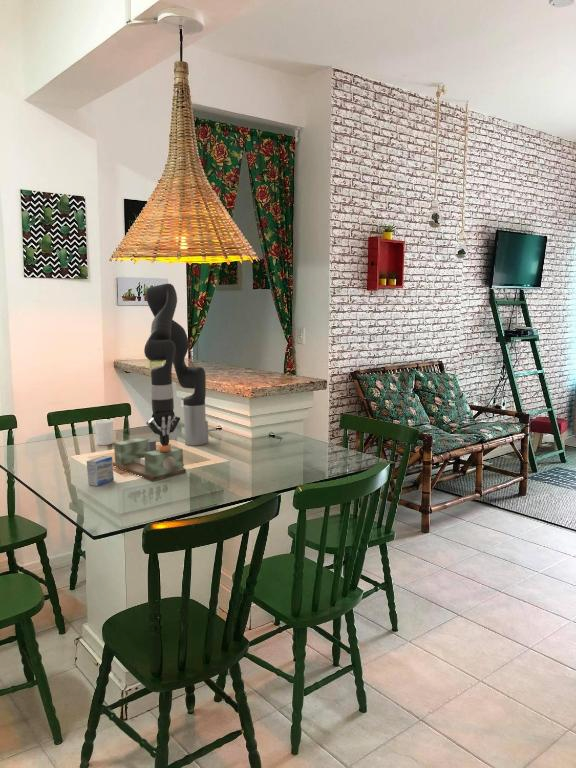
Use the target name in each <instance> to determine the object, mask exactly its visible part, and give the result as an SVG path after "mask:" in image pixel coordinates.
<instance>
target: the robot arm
mask: <svg viewBox="0 0 576 768" xmlns="http://www.w3.org/2000/svg"><path fill="white" fill-rule="evenodd" d="M144 294H145V299H146V302H147V304H148V307H149V309H150V311H151V313H152V315H153V317H154V318H153V320H152V323H151V329H150V335H149V337H148V338H147V340H146V343H145V345H144V349H143V350H144V352H143V353H144V356H145V358H146V359H147V360H149V361H165V363H164V364H163V365H160V366H156V367H153V368H151V371H150V379H151V387H150V388H151V389H150V392H151V394H150V395H151V410H152V415H151V419H150V420H148V421H146V426H148V428H149V429H150V430H151V431H152V432H153V433H154V434H155V435H158V436H159V443H160V445H163V446H166V445H168V444H170V434H171V433H174V431H175V430H176V427H177V426H178V425H179V422H180V421H181V417H180V416H177V415H175V412H174V408H175V407H174V406H175V403H174V388H173V378H172V377H173V375H172V371H173V367H174V371H175V375H176V378H177V381H178V383H179V385H180V387H182V388H183V389H191V390H192V389H193V390H194V392H193V393H192V394H191V395H187V396H185V397H183V400H182V401H183V402H182V404H183V422H184V424H183V425H184V443H185V445H187V446H202V445H205V444H207V443H209V421H208V420H207V418H206V385H207V384H206V382H207V381H206V379H207V377H206V371H205V369H204V368H203V367H200V366H187V365H186V362H185V359H186V356H187V354H188V350H189V349H190V342H189V338H188V335H187V332H186V330H185V329H184V327H183V326H182V325H181V324H179V323H178V322H177V321H175V320H174V319H173V318H174V316H175V312H176V308H177V305H178V295H177V294H178V293H177V291H176V289H175V286H174V285H173V284H172V283H162V284H158V285H153V286H150V287H149V286H148V287H147V288H146V290H145V293H144Z"/></svg>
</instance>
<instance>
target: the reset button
mask: <svg viewBox="0 0 576 768" xmlns="http://www.w3.org/2000/svg"><path fill="white" fill-rule="evenodd" d="M171 447H172V445H171V443H168V445H166V446H163V445H161V444H159V445H158V450H159V451H160V452H169V451H171Z"/></svg>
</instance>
